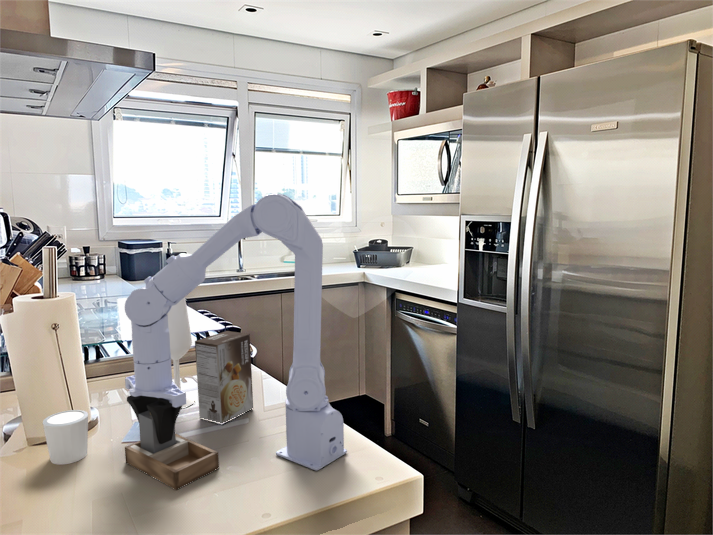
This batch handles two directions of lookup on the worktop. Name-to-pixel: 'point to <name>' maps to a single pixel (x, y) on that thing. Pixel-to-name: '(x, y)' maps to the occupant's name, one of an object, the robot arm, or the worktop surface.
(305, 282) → the robot arm
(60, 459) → the white cup
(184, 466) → the walnut box
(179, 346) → the champagne flute
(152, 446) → the plug
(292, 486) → the worktop surface
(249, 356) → the coffee box
